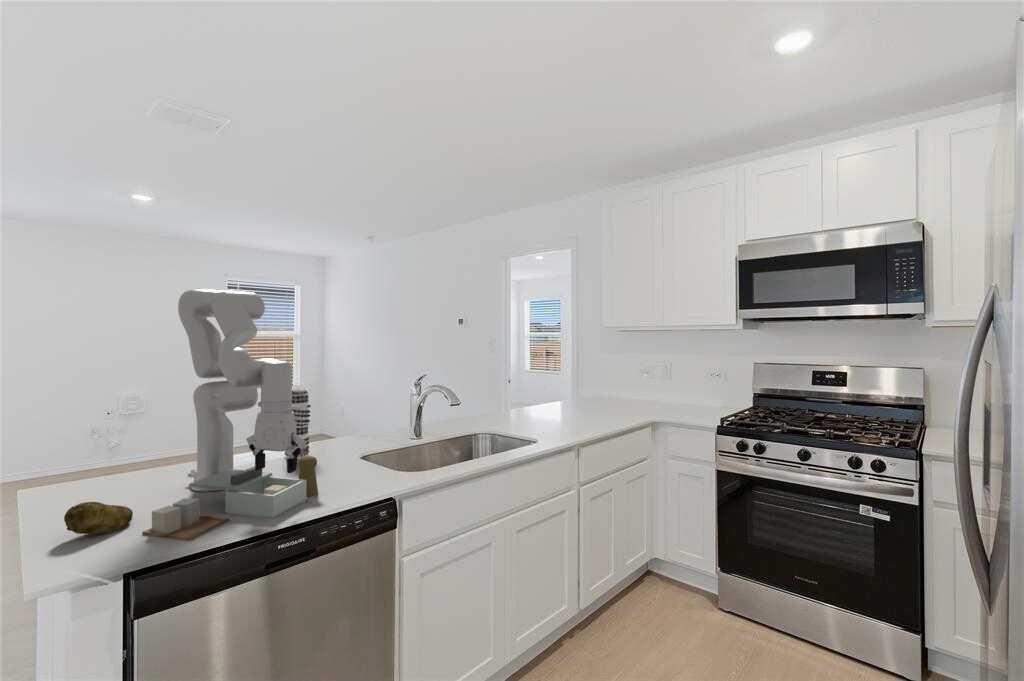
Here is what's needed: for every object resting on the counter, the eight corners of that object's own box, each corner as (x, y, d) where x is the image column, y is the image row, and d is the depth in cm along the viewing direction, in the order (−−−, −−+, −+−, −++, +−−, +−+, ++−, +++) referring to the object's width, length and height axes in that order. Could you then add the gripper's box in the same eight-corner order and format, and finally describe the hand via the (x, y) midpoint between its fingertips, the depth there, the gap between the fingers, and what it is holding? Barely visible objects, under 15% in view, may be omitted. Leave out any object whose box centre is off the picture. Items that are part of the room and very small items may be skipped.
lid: (189, 486, 132) (189, 474, 132) (229, 471, 145) (229, 460, 145) (236, 491, 129) (236, 478, 129) (272, 475, 143) (272, 464, 143)
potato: (138, 530, 119) (138, 497, 119) (66, 547, 109) (66, 511, 109) (130, 521, 124) (130, 489, 124) (61, 536, 115) (60, 501, 115)
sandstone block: (273, 502, 137) (274, 484, 137) (286, 504, 136) (287, 486, 136) (263, 507, 133) (263, 489, 133) (277, 509, 132) (277, 490, 132)
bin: (225, 514, 130) (225, 491, 130) (262, 496, 144) (262, 475, 143) (273, 519, 127) (273, 496, 127) (306, 500, 141) (306, 479, 141)
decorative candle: (295, 452, 193) (296, 387, 192) (315, 454, 190) (316, 389, 189) (277, 458, 184) (278, 390, 183) (298, 460, 181) (298, 392, 181)
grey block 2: (172, 524, 122) (172, 504, 122) (183, 518, 126) (183, 498, 126) (188, 524, 122) (188, 504, 121) (199, 518, 126) (199, 498, 125)
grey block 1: (151, 532, 117) (151, 511, 117) (168, 526, 121) (168, 505, 121) (164, 535, 116) (164, 513, 115) (180, 528, 119) (180, 507, 119)
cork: (310, 498, 143) (310, 460, 142) (291, 496, 144) (291, 458, 144) (322, 491, 149) (322, 455, 148) (304, 490, 150) (304, 453, 150)
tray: (142, 536, 116) (142, 531, 116) (185, 517, 127) (185, 513, 127) (190, 542, 113) (190, 537, 113) (230, 522, 125) (230, 518, 125)
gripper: (238, 407, 132) (237, 472, 133) (296, 411, 129) (296, 477, 129) (257, 403, 139) (257, 464, 140) (313, 406, 136) (313, 469, 137)
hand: (275, 470), depth 135 cm, fingers open, 9 cm apart
